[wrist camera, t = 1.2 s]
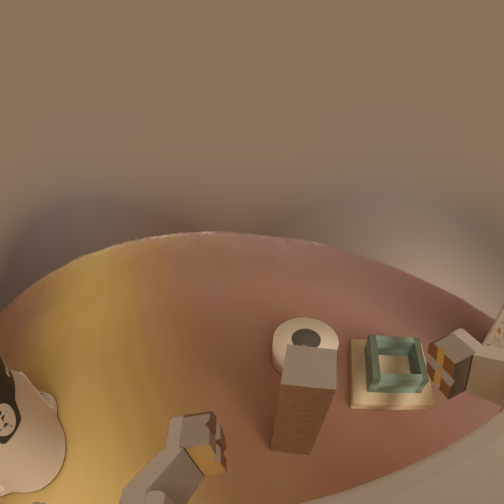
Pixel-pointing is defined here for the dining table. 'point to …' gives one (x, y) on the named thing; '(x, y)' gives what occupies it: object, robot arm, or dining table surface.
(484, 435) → the robot arm
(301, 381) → the square bit
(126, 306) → the dining table surface
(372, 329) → the dining table surface
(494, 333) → the cracker box
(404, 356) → the square socket board
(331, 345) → the round bore block
